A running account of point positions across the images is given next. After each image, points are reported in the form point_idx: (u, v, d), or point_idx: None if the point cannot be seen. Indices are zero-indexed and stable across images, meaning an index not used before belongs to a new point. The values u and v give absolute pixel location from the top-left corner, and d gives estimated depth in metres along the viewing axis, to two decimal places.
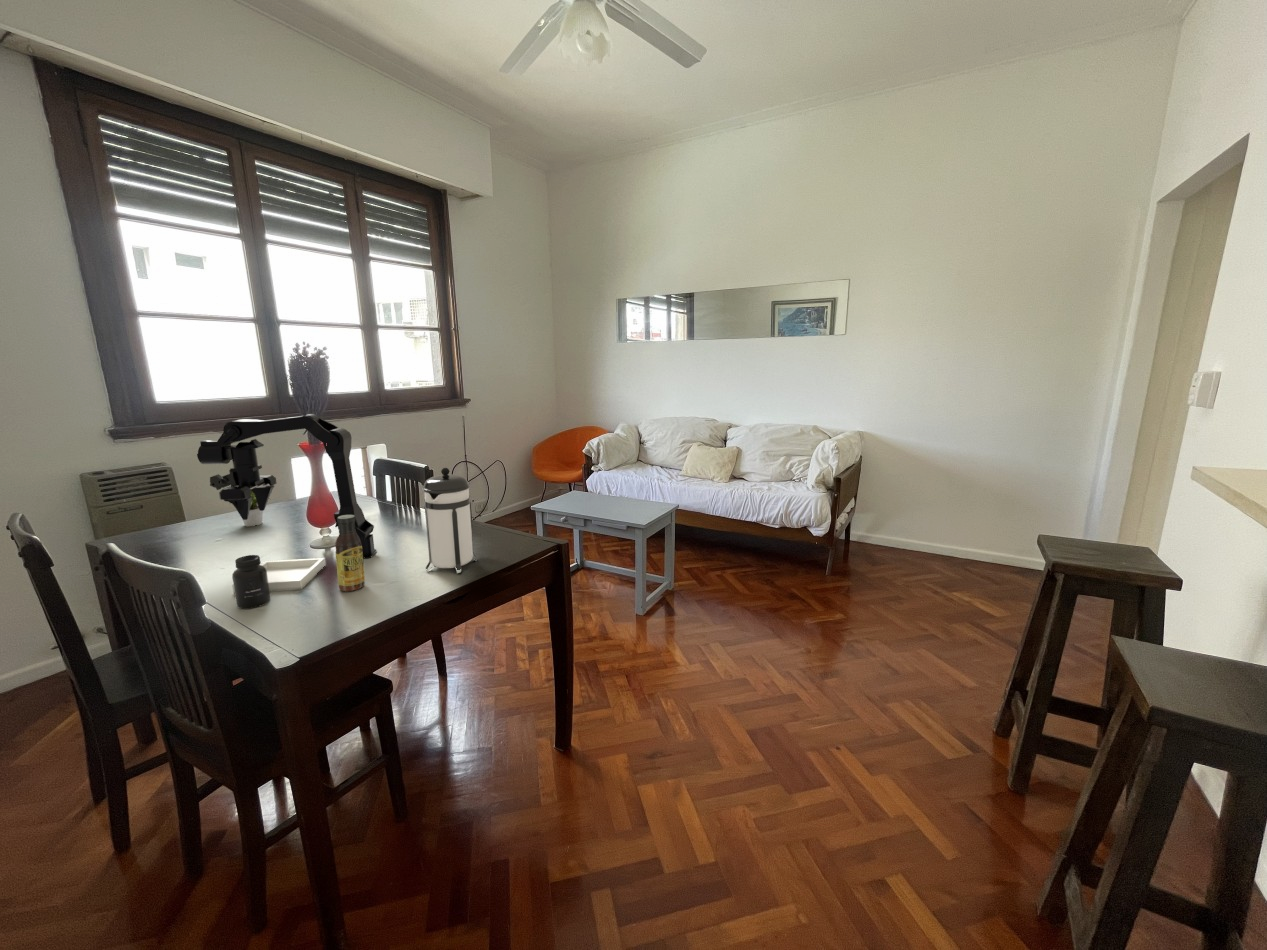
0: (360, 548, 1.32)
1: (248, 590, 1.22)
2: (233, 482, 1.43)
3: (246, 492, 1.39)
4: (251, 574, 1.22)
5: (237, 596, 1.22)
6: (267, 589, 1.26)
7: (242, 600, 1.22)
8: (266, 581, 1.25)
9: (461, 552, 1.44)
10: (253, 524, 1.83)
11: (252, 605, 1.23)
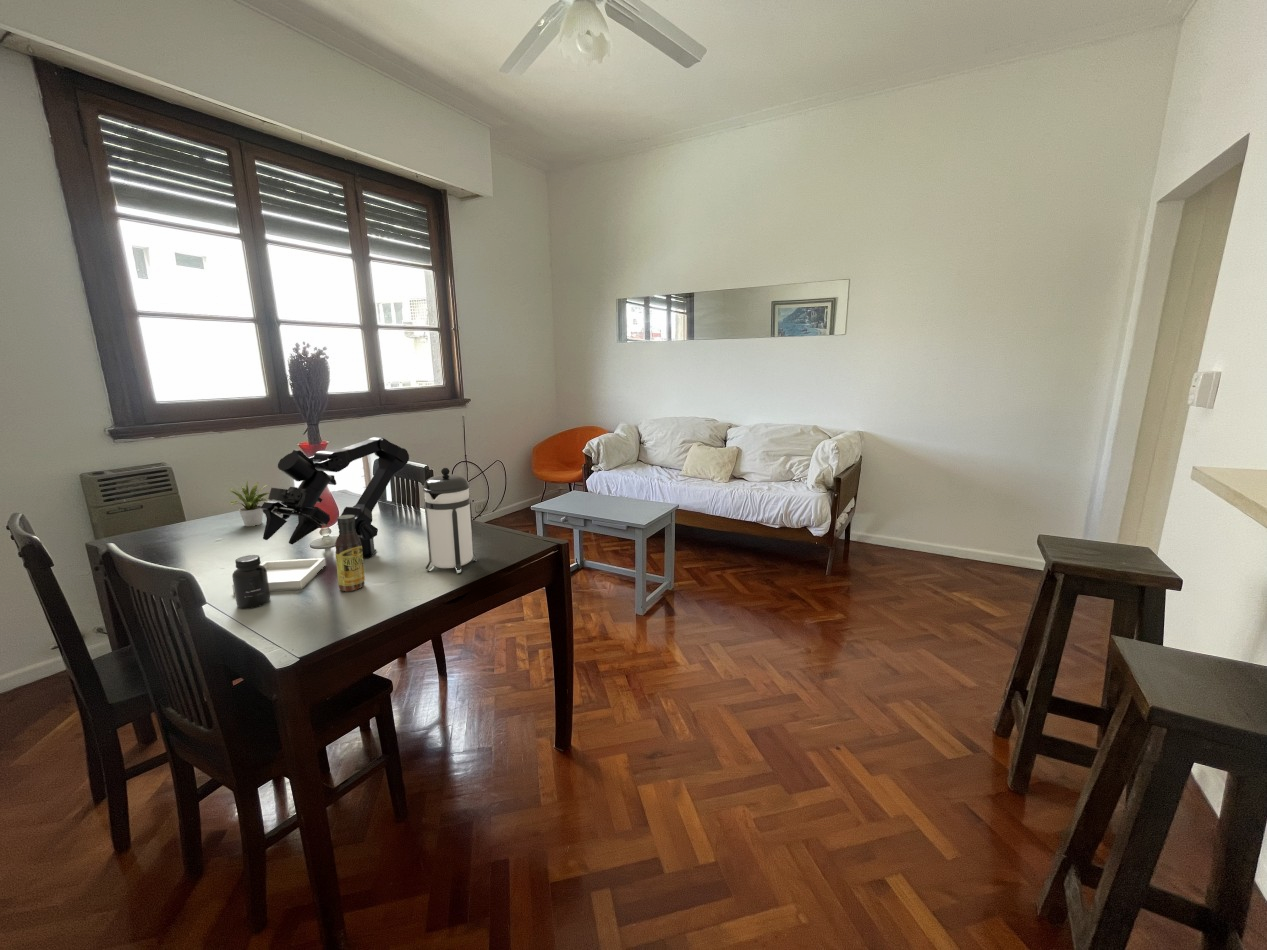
0: (360, 548, 1.32)
1: (248, 590, 1.22)
2: (301, 502, 1.33)
3: None
4: (251, 574, 1.22)
5: (237, 596, 1.22)
6: (267, 589, 1.26)
7: (242, 600, 1.22)
8: (266, 581, 1.25)
9: (461, 552, 1.44)
10: (253, 524, 1.83)
11: (252, 605, 1.23)
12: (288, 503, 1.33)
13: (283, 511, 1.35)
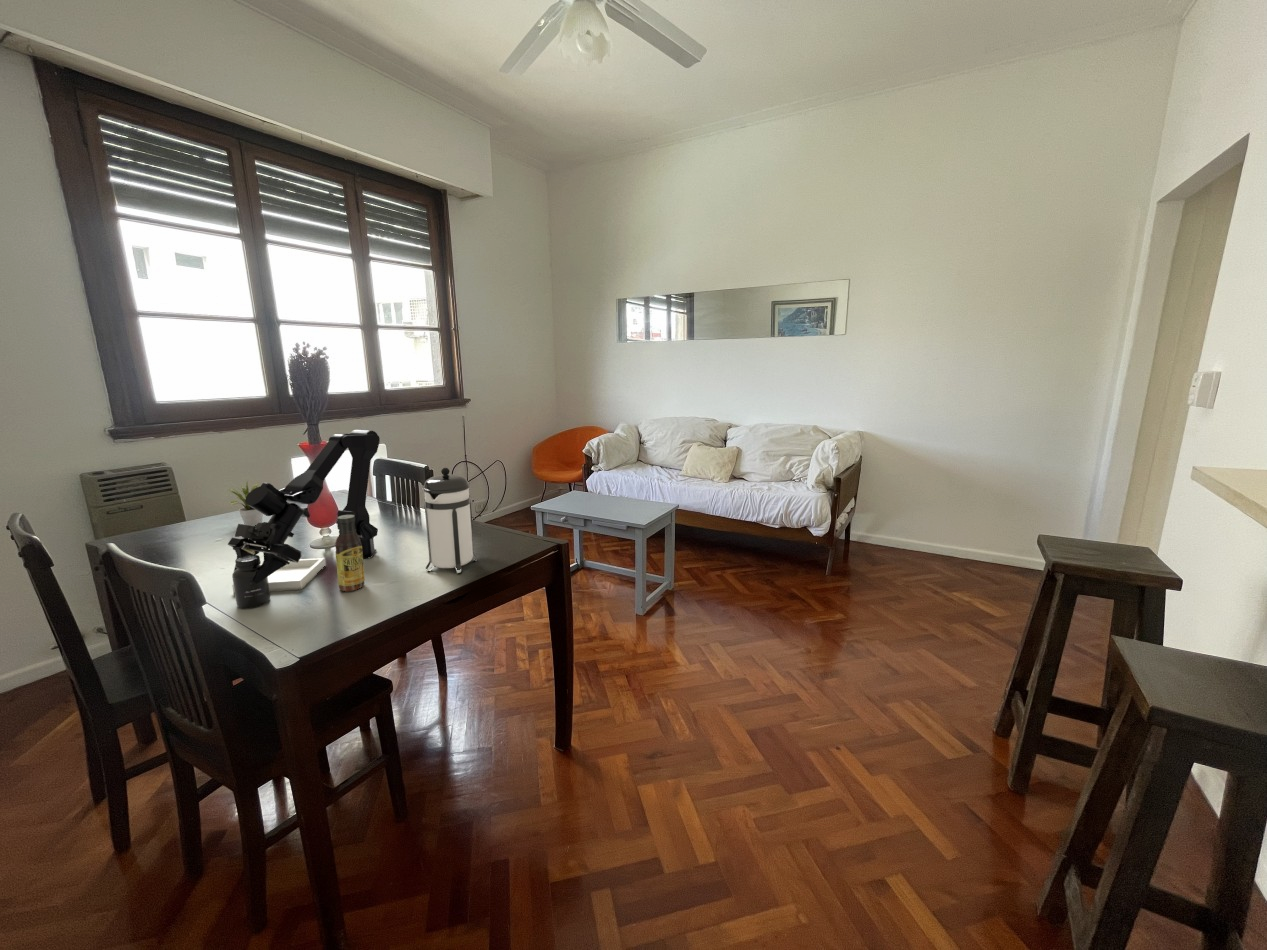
0: (360, 548, 1.32)
1: (248, 590, 1.22)
2: (271, 538, 1.25)
3: None
4: (251, 574, 1.22)
5: (237, 595, 1.22)
6: (267, 589, 1.25)
7: (242, 600, 1.22)
8: (266, 581, 1.25)
9: (461, 552, 1.44)
10: (253, 524, 1.83)
11: (252, 605, 1.23)
12: (257, 539, 1.26)
13: (255, 548, 1.27)
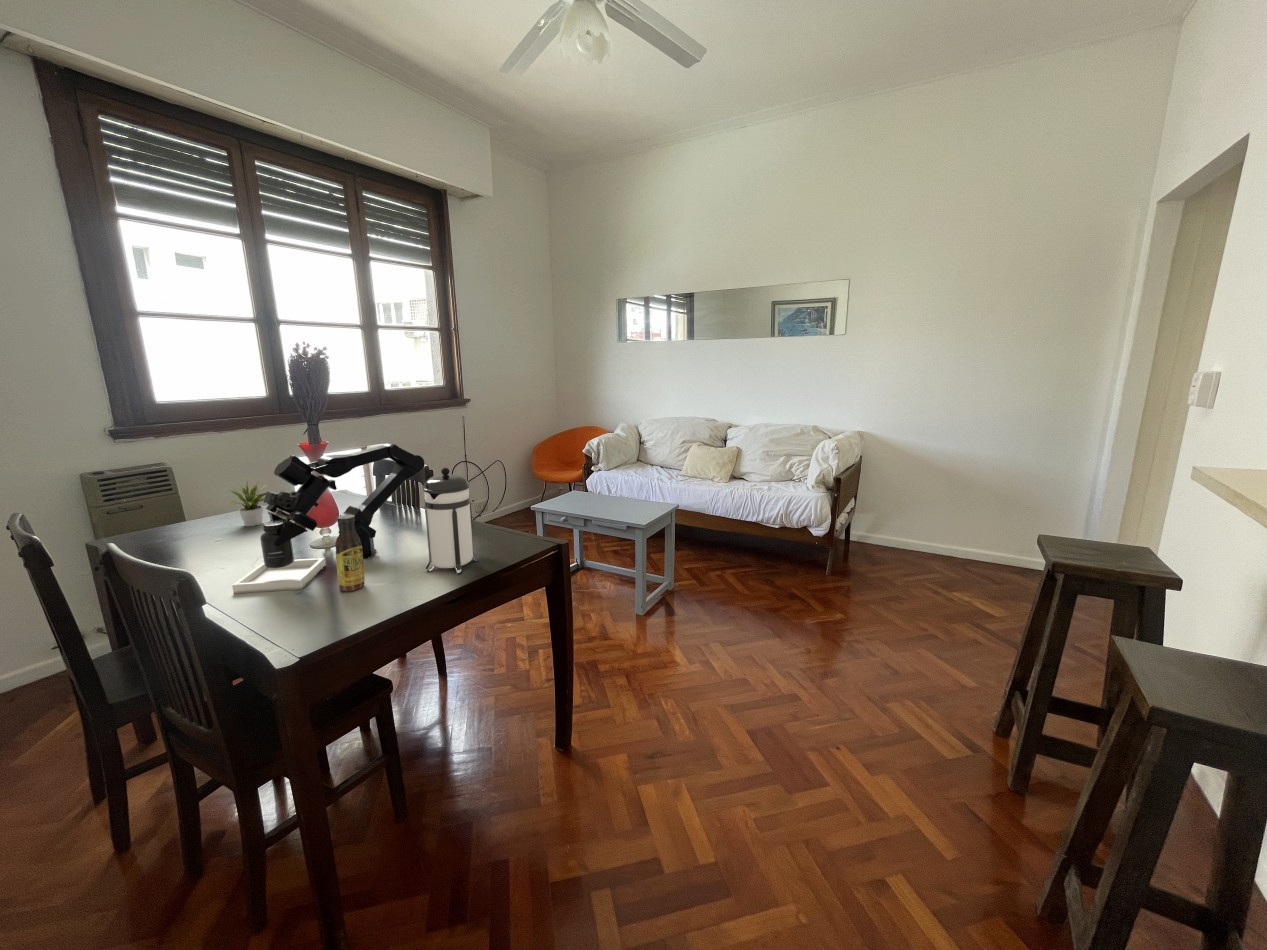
0: (360, 548, 1.32)
1: (271, 551, 1.34)
2: (293, 507, 1.36)
3: None
4: (273, 538, 1.33)
5: (263, 555, 1.35)
6: (289, 552, 1.37)
7: (266, 560, 1.34)
8: (288, 545, 1.37)
9: (461, 552, 1.44)
10: (253, 524, 1.83)
11: (274, 566, 1.35)
12: (284, 506, 1.38)
13: (285, 514, 1.40)
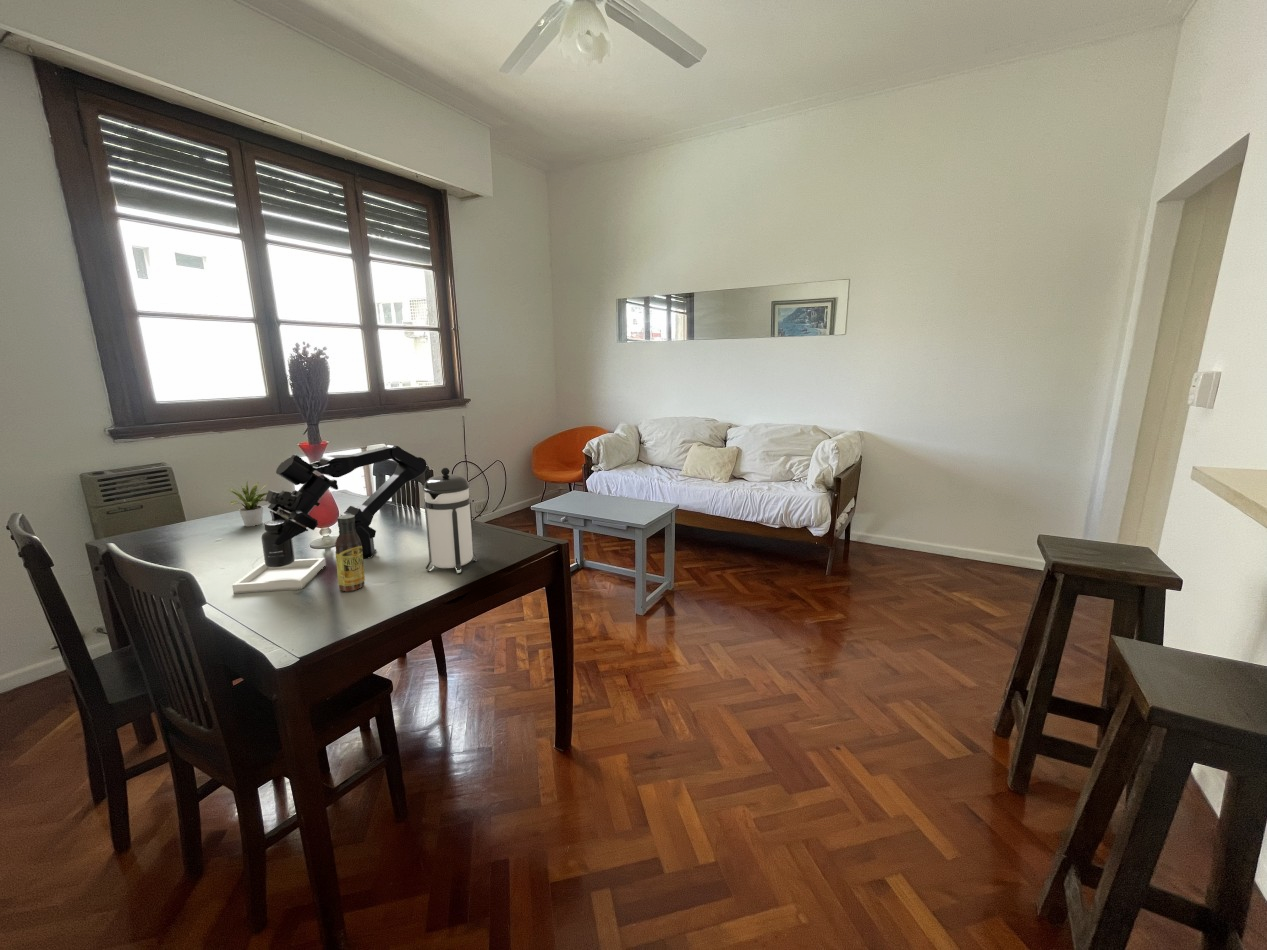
0: (360, 548, 1.32)
1: (271, 551, 1.34)
2: (294, 506, 1.37)
3: None
4: (274, 537, 1.34)
5: (264, 554, 1.35)
6: (290, 552, 1.38)
7: (267, 559, 1.35)
8: (289, 544, 1.37)
9: (461, 552, 1.44)
10: (253, 524, 1.83)
11: (274, 565, 1.35)
12: (285, 505, 1.38)
13: (286, 513, 1.41)
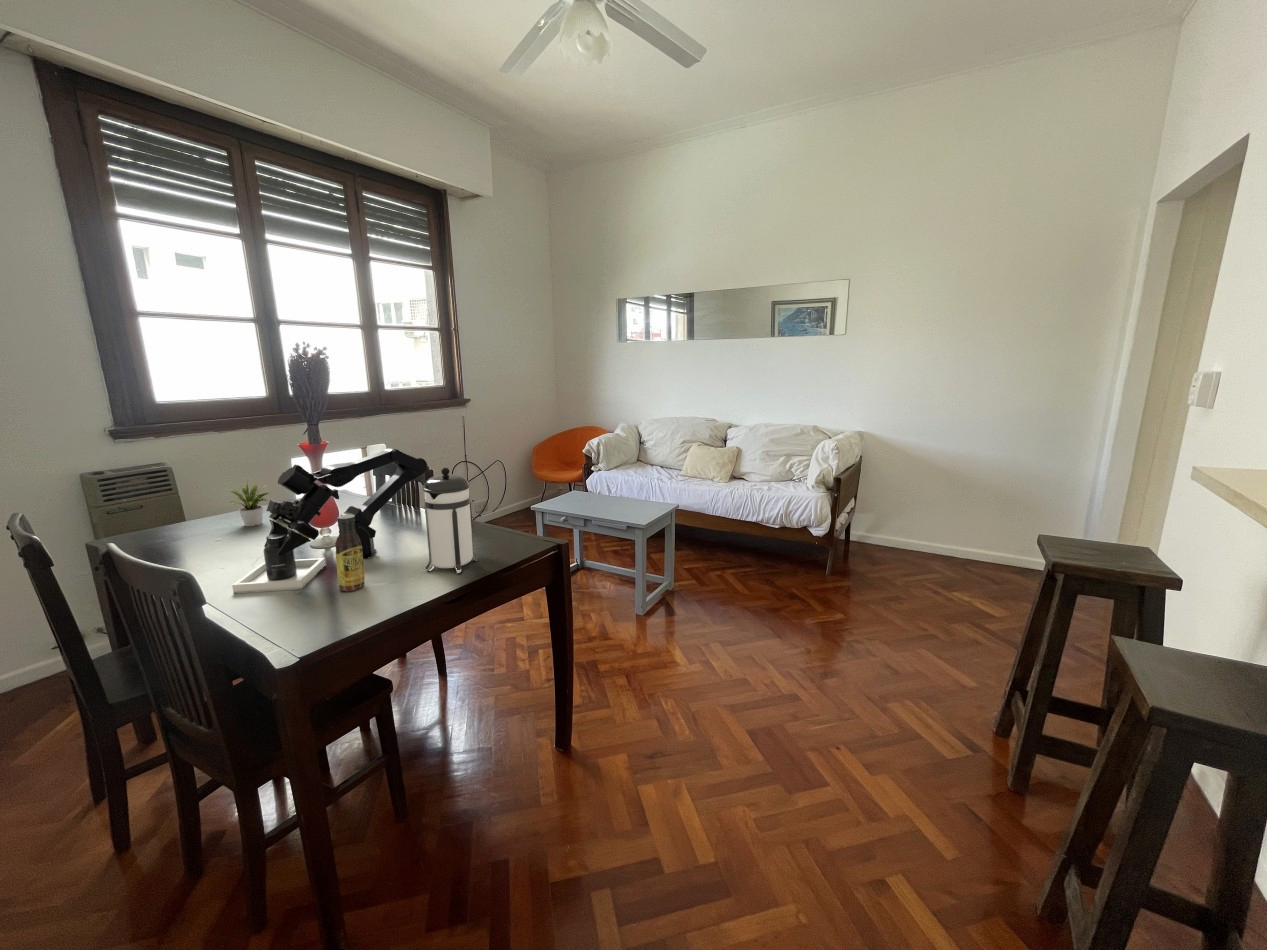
0: (360, 548, 1.32)
1: (273, 564, 1.35)
2: (296, 516, 1.37)
3: None
4: (276, 550, 1.35)
5: (266, 568, 1.36)
6: (292, 565, 1.39)
7: (269, 573, 1.36)
8: (290, 558, 1.38)
9: (461, 552, 1.44)
10: (253, 524, 1.83)
11: (276, 578, 1.36)
12: (286, 515, 1.39)
13: (286, 522, 1.42)
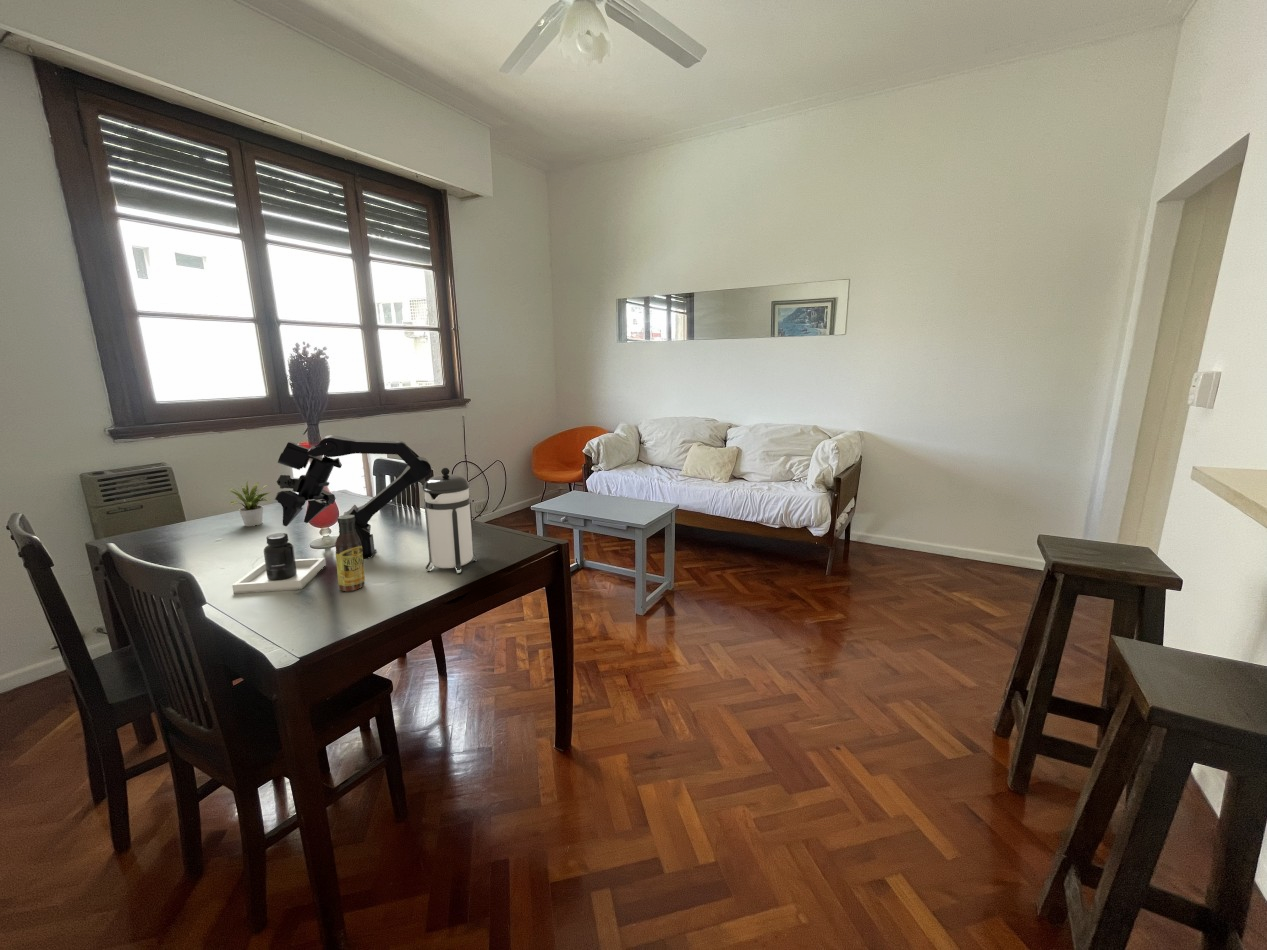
0: (360, 548, 1.32)
1: (273, 564, 1.35)
2: (296, 488, 1.44)
3: (299, 503, 1.39)
4: (276, 550, 1.35)
5: (266, 568, 1.36)
6: (292, 565, 1.39)
7: (269, 573, 1.36)
8: (291, 558, 1.38)
9: (461, 552, 1.44)
10: (253, 524, 1.83)
11: (276, 578, 1.36)
12: None
13: None
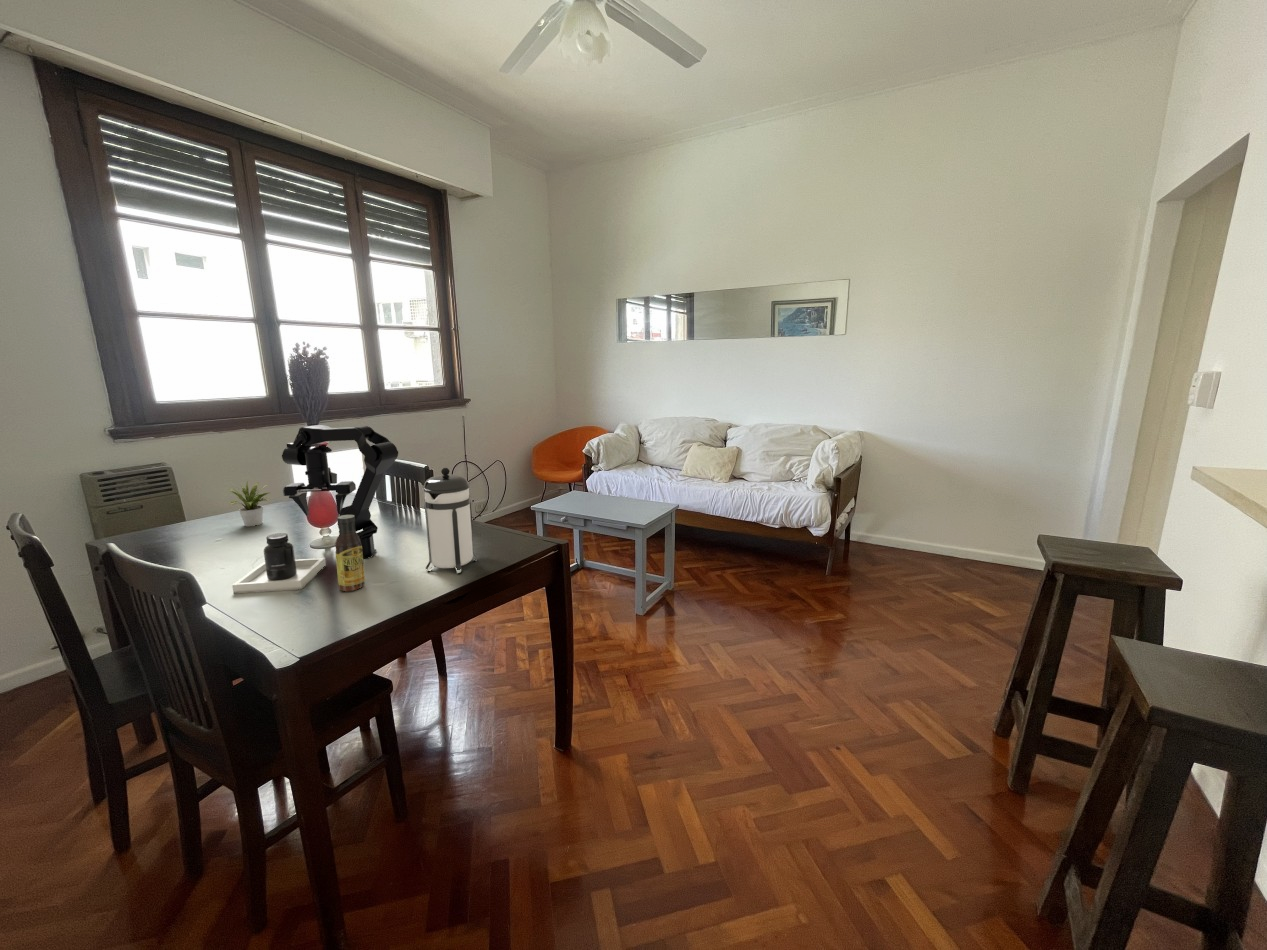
0: (360, 548, 1.32)
1: (273, 564, 1.35)
2: None
3: (287, 491, 1.51)
4: (276, 550, 1.35)
5: (266, 568, 1.36)
6: (292, 565, 1.39)
7: (269, 573, 1.36)
8: (290, 558, 1.38)
9: (461, 552, 1.44)
10: (253, 524, 1.83)
11: (276, 578, 1.36)
12: None
13: None
